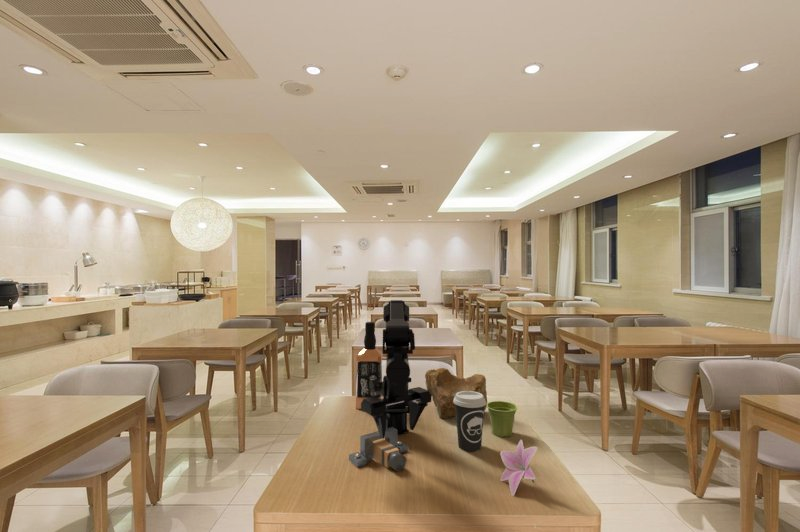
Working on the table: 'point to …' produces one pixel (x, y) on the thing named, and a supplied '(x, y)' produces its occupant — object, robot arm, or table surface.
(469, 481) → the table surface
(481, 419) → the coffee cup
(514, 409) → the plant pot
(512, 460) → the lily
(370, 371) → the whiskey bottle
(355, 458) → the mounting bracket
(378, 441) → the tan bar
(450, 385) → the rough brown rock
